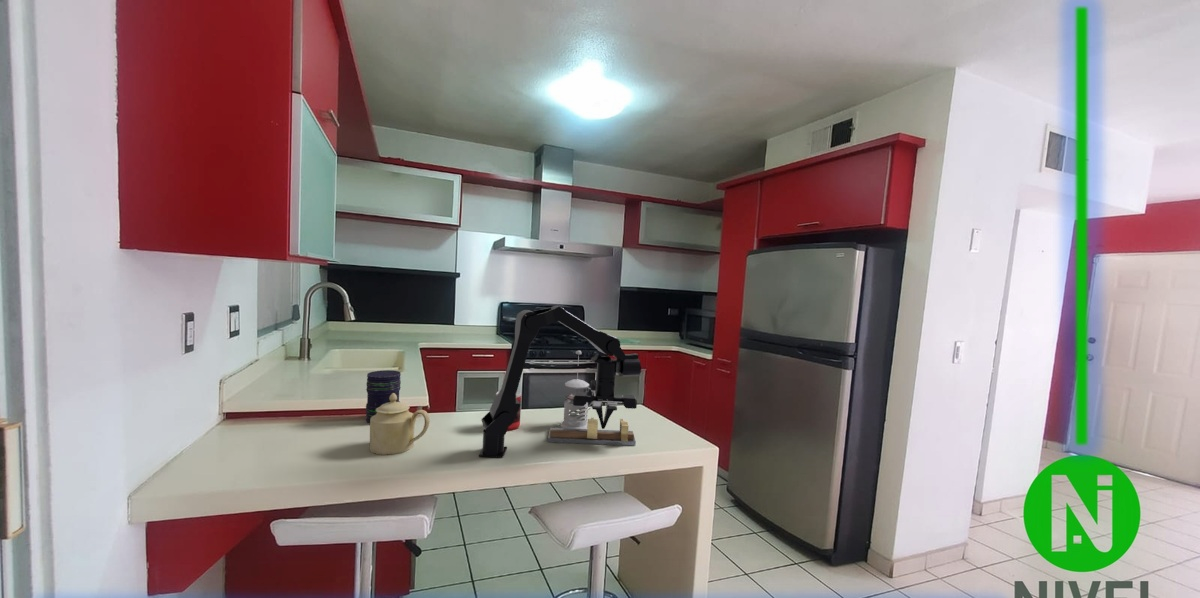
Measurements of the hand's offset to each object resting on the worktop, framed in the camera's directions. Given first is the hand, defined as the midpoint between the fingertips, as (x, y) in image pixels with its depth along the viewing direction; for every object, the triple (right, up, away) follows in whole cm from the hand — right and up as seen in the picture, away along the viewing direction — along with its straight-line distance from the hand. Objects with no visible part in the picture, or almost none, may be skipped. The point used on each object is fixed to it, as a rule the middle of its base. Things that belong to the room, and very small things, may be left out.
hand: (603, 428), depth 133 cm
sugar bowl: (-56, -2, -11) cm, 57 cm away
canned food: (-31, -2, +9) cm, 32 cm away
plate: (-3, -4, +3) cm, 6 cm away
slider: (-3, -2, +2) cm, 4 cm away
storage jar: (-71, 0, +10) cm, 72 cm away
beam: (-3, -3, +2) cm, 5 cm away
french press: (-8, -3, +14) cm, 17 cm away
